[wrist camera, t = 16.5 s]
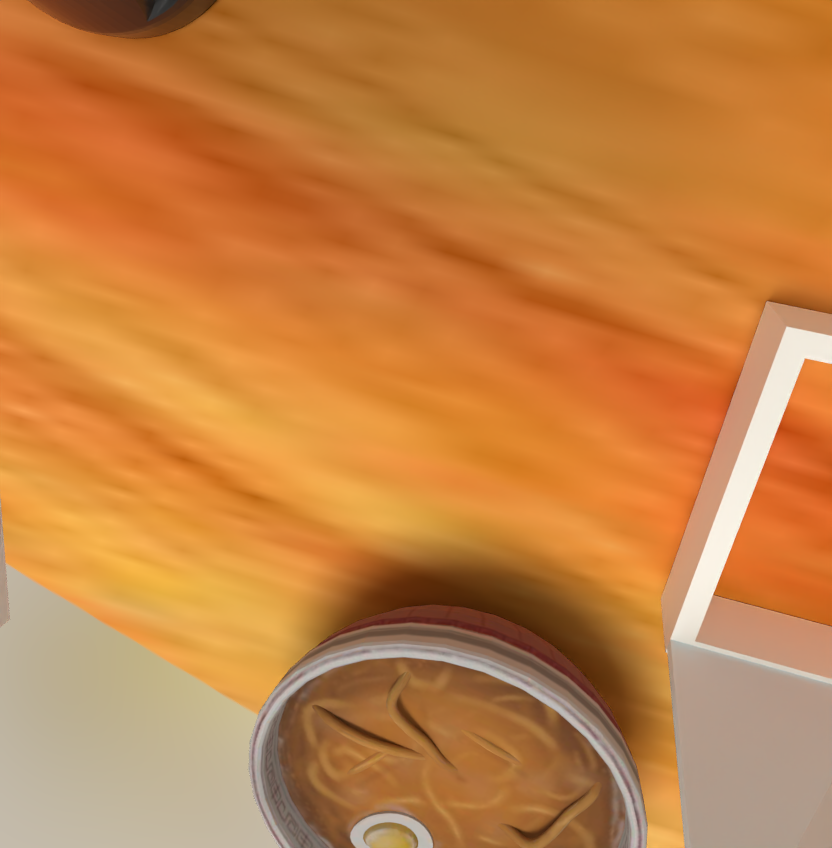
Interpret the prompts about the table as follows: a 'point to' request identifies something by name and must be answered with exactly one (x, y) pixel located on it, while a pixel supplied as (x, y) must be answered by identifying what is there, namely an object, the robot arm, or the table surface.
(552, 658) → the bowl
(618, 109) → the table surface
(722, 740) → the cold frame
